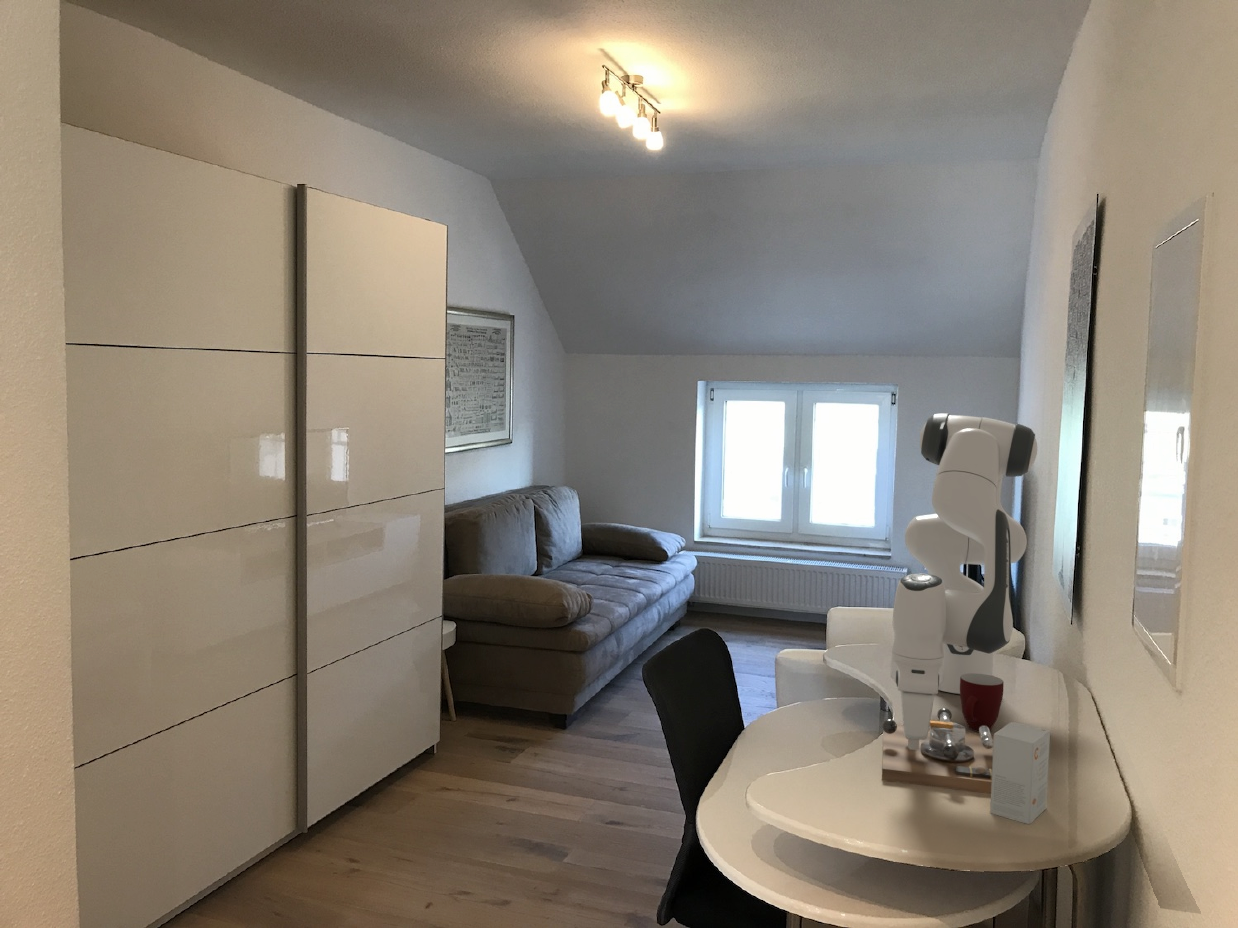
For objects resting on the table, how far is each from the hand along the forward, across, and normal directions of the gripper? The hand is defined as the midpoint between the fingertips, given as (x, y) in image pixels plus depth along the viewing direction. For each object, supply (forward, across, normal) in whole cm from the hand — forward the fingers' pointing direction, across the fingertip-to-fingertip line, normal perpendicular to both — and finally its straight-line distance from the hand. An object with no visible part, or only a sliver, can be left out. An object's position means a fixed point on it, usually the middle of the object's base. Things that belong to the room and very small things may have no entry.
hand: (913, 746), depth 172 cm
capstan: (+2, -7, +6) cm, 10 cm away
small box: (+5, +11, +16) cm, 20 cm away
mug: (+5, -27, +13) cm, 30 cm away
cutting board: (+5, -7, +6) cm, 10 cm away
